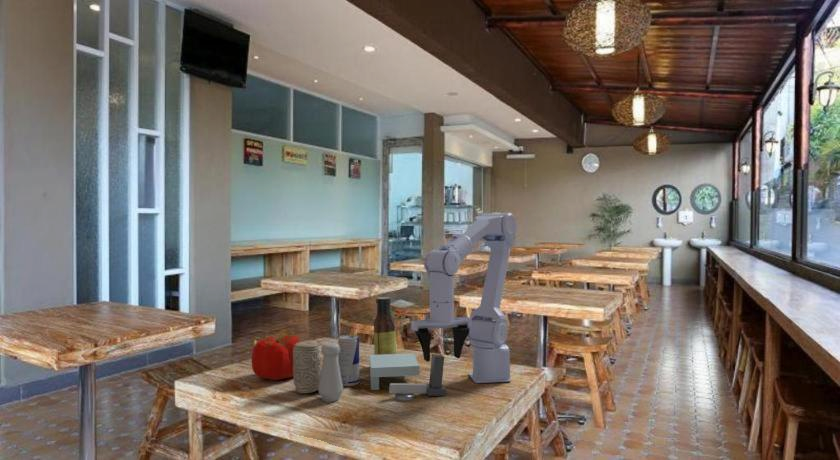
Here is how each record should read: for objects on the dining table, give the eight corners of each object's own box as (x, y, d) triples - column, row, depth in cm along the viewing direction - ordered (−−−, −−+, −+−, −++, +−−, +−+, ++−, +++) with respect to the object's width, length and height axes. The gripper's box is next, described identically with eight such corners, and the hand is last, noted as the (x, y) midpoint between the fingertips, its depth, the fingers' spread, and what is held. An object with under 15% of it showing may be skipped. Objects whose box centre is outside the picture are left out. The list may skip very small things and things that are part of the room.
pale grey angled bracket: (414, 373, 138) (413, 353, 138) (419, 387, 126) (419, 365, 126) (369, 375, 137) (369, 354, 136) (371, 390, 125) (370, 367, 125)
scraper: (440, 389, 125) (443, 353, 125) (446, 395, 120) (449, 358, 120) (387, 389, 121) (391, 352, 121) (391, 395, 117) (395, 356, 117)
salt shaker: (338, 404, 115) (337, 347, 115) (314, 402, 116) (314, 346, 116) (346, 395, 121) (346, 341, 121) (324, 394, 122) (323, 340, 122)
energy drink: (363, 381, 131) (363, 335, 131) (352, 387, 126) (351, 340, 126) (345, 378, 134) (345, 333, 133) (334, 384, 129) (333, 338, 128)
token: (413, 396, 121) (413, 391, 121) (414, 403, 117) (414, 397, 117) (395, 396, 121) (395, 391, 121) (395, 403, 117) (395, 398, 117)
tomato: (298, 367, 145) (298, 330, 144) (309, 380, 133) (308, 340, 132) (248, 373, 139) (248, 335, 138) (255, 388, 127) (254, 346, 127)
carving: (305, 385, 128) (304, 338, 128) (327, 390, 125) (327, 342, 124) (286, 392, 123) (286, 343, 123) (310, 398, 119) (309, 347, 119)
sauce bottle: (400, 366, 145) (400, 297, 145) (388, 371, 140) (387, 300, 139) (382, 362, 148) (382, 295, 148) (369, 368, 143) (368, 298, 143)
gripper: (462, 296, 124) (463, 351, 125) (407, 300, 120) (407, 357, 120) (475, 301, 118) (475, 359, 118) (417, 305, 113) (417, 365, 113)
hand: (442, 358), depth 119 cm, fingers open, 7 cm apart
